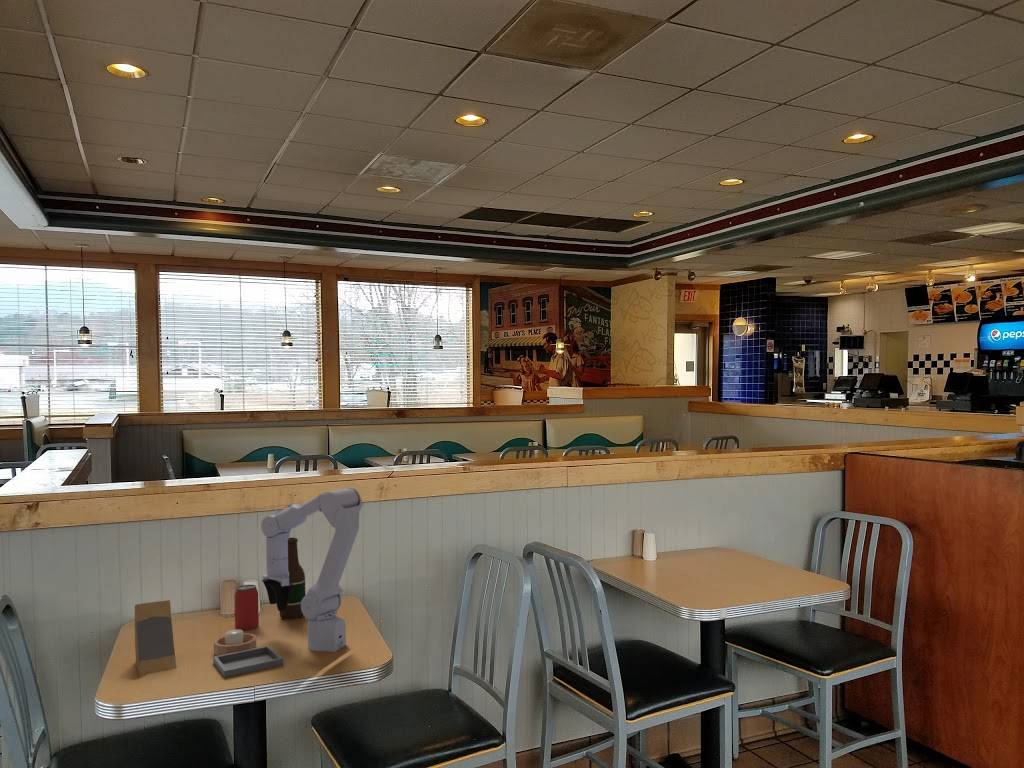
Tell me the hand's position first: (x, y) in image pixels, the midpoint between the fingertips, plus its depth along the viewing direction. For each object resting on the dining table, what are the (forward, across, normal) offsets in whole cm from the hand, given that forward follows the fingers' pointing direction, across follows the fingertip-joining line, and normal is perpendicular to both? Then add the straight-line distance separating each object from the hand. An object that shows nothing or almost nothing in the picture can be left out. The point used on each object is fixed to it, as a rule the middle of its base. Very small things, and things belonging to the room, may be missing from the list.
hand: (278, 606), depth 207 cm
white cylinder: (+9, +4, -13) cm, 16 cm away
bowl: (+9, +4, -12) cm, 16 cm away
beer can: (+10, -17, -4) cm, 20 cm away
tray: (+9, +16, -12) cm, 23 cm away
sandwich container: (+10, +2, -31) cm, 33 cm away
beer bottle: (+10, -20, +10) cm, 25 cm away
